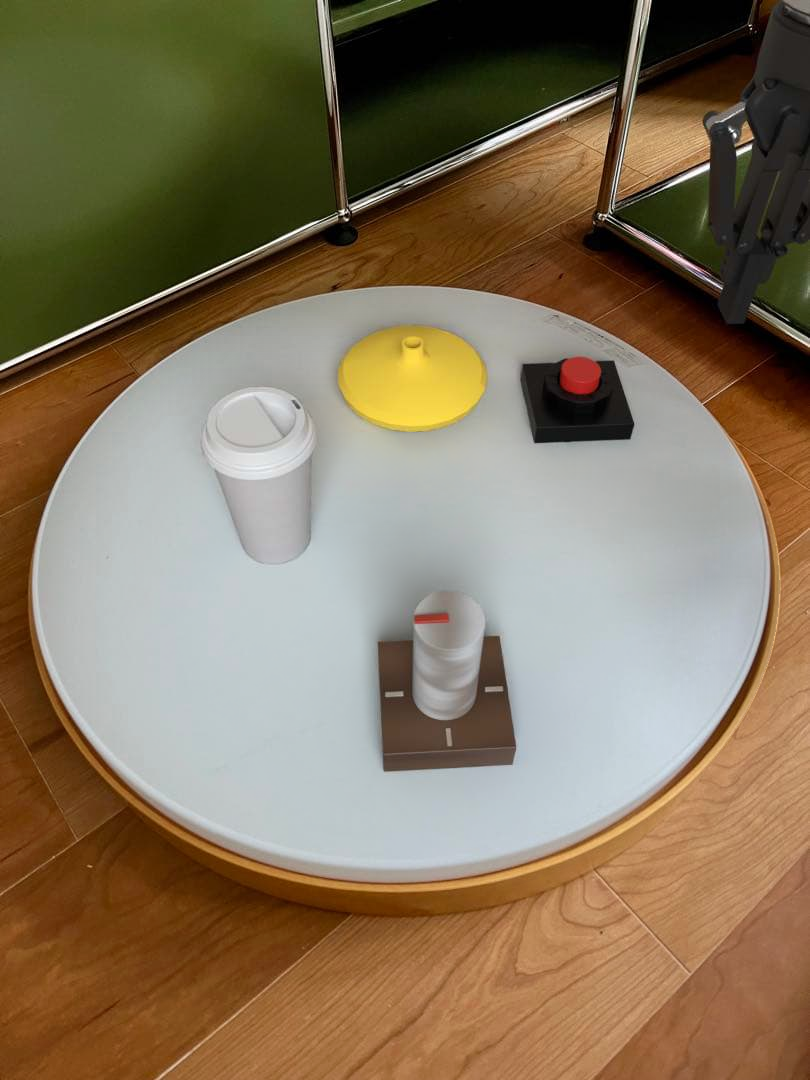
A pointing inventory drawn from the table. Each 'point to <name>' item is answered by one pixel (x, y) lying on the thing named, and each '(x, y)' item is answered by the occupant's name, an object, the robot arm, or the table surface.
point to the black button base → (575, 406)
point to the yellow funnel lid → (412, 378)
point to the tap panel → (444, 742)
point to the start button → (580, 375)
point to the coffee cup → (264, 469)
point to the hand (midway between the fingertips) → (730, 313)
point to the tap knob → (447, 654)
